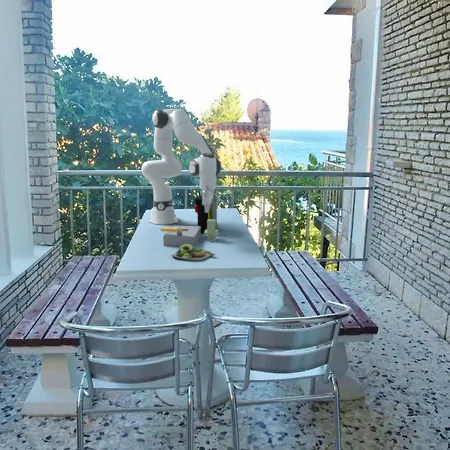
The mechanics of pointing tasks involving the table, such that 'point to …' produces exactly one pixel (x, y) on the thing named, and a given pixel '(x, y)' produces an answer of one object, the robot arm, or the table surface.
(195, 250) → the salad plate
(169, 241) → the grey flat block
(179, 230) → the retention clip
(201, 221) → the electrical component
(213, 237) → the plug
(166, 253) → the table surface
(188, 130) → the robot arm
